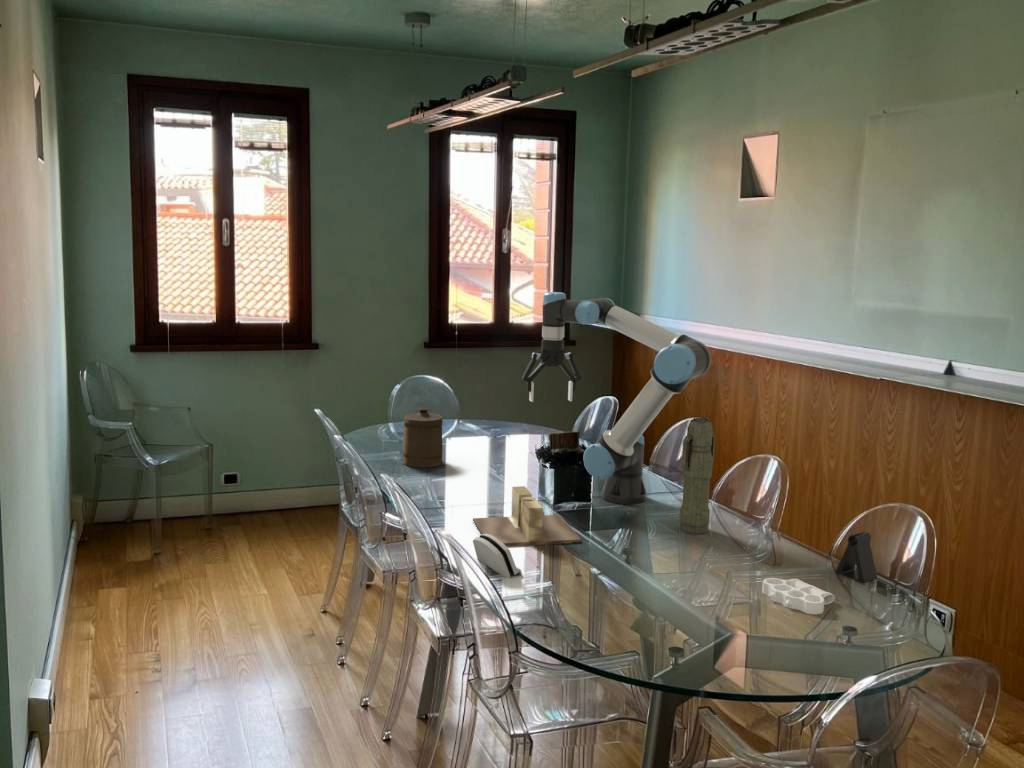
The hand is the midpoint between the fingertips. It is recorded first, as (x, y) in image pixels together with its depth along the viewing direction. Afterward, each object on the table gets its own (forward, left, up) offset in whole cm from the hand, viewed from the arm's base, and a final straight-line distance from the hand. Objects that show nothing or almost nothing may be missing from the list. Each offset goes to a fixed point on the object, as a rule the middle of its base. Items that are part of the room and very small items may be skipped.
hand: (550, 400), depth 328 cm
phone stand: (-64, +87, -33) cm, 113 cm away
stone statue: (-35, +44, -33) cm, 65 cm away
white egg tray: (-39, +100, -33) cm, 112 cm away
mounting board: (+17, +38, -33) cm, 53 cm away
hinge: (+32, +66, -33) cm, 81 cm away
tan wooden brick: (+17, +32, -31) cm, 48 cm away
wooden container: (+37, -47, -33) cm, 68 cm away
